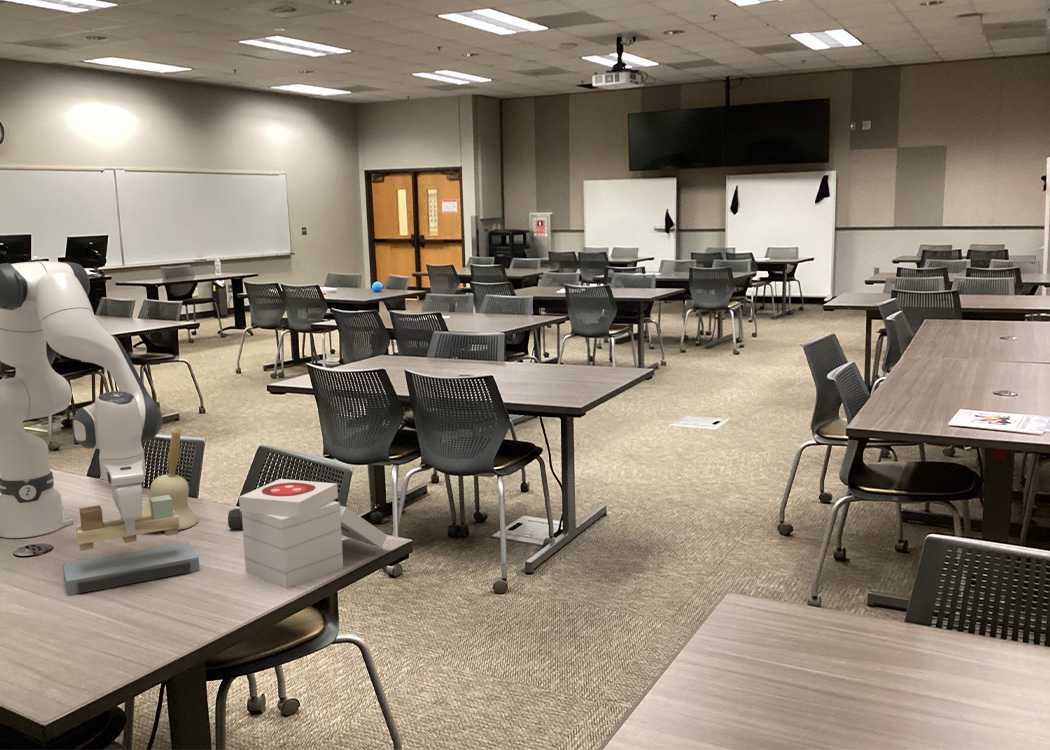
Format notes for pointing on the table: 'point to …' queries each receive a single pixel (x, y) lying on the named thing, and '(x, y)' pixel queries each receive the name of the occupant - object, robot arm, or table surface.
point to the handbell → (173, 488)
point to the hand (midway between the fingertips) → (128, 529)
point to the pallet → (118, 530)
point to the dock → (129, 567)
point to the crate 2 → (161, 507)
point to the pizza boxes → (298, 531)
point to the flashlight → (235, 519)
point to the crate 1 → (91, 518)
